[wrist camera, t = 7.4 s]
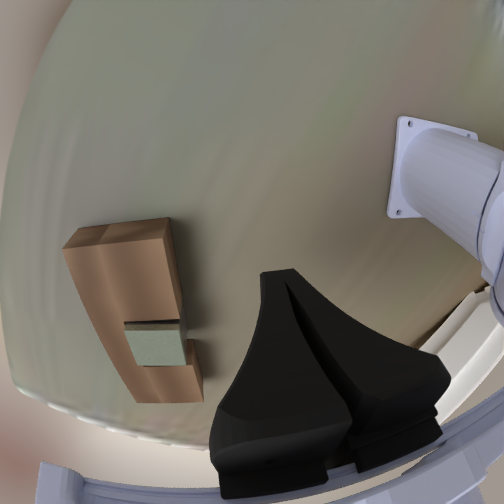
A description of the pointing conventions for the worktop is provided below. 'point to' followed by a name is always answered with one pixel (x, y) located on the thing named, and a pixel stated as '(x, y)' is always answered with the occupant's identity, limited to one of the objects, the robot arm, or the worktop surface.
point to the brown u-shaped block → (133, 300)
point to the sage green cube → (158, 341)
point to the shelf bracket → (466, 349)
